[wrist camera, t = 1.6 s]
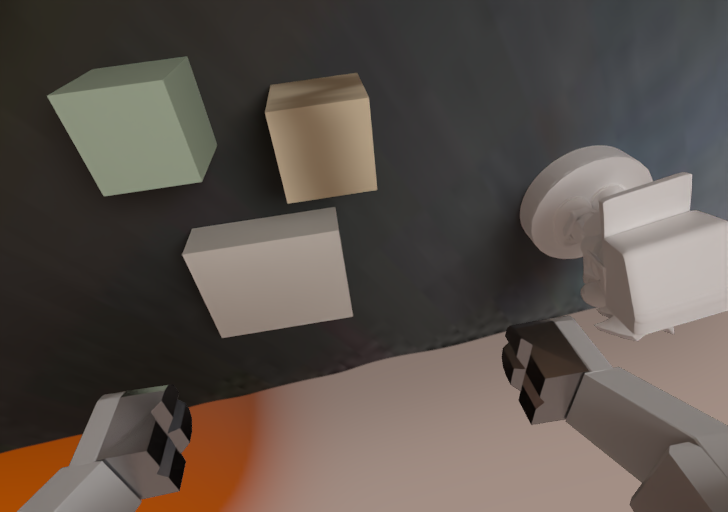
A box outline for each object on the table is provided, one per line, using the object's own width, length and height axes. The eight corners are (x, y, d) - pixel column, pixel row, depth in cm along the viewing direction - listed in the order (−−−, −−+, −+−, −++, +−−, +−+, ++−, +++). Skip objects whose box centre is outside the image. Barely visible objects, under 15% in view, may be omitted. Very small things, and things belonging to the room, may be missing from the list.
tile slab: (335, 206, 28) (338, 230, 26) (349, 290, 33) (352, 316, 31) (192, 228, 28) (182, 254, 26) (227, 310, 33) (221, 338, 30)
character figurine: (522, 257, 34) (610, 379, 24) (515, 156, 28) (627, 263, 18) (628, 224, 33) (762, 336, 23) (643, 113, 27) (829, 201, 18)
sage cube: (187, 56, 22) (162, 79, 18) (217, 144, 25) (202, 181, 21) (93, 69, 21) (47, 95, 18) (135, 156, 25) (103, 196, 21)
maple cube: (357, 72, 23) (369, 97, 19) (365, 153, 26) (377, 190, 22) (270, 84, 23) (264, 112, 19) (289, 165, 26) (287, 203, 22)
